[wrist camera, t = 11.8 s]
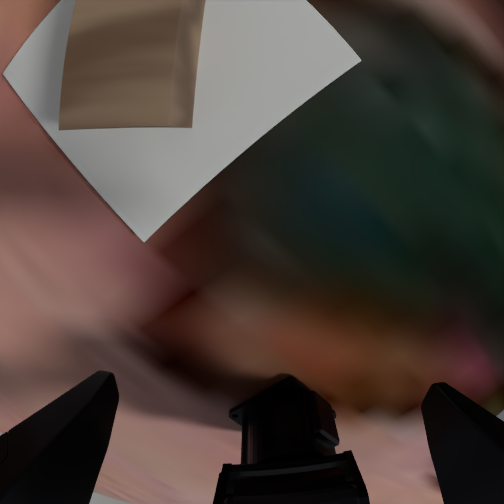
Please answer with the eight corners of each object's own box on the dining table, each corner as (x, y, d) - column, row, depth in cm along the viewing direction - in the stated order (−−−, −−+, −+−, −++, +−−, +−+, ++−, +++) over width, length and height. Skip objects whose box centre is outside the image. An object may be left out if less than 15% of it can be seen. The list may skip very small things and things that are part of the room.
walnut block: (167, 126, 11) (198, -79, 8) (58, 130, 11) (93, -62, 8) (192, 128, 16) (210, -33, 12) (106, 128, 16) (127, -26, 12)
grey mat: (147, 238, 19) (144, 242, 18) (9, 74, 15) (2, 73, 14) (357, 63, 15) (361, 60, 14) (182, -88, 11) (179, -94, 10)
